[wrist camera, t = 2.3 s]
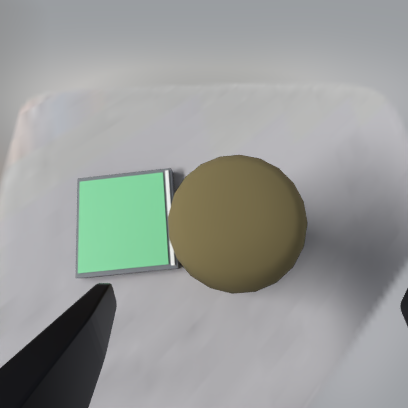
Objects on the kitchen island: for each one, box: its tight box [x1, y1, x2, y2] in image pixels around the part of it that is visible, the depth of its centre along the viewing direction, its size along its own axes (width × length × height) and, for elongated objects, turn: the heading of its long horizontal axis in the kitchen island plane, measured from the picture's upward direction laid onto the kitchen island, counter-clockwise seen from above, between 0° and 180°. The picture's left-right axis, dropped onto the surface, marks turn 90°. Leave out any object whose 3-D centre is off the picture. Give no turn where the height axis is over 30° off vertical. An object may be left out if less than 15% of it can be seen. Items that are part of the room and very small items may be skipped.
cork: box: [168, 155, 307, 293], centre depth 14 cm, size 6×6×11 cm
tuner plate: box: [76, 168, 179, 278], centre depth 20 cm, size 7×7×1 cm
